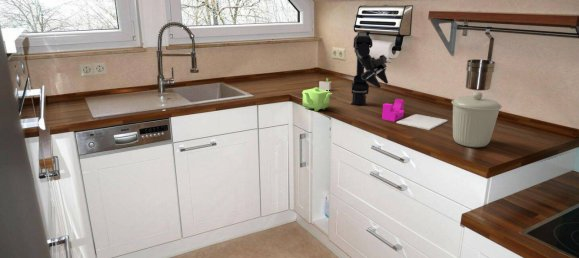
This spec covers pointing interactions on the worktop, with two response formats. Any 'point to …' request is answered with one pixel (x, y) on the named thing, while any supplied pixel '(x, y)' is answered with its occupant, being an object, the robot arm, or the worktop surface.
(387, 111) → the toy block
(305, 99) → the kettle
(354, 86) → the robot arm
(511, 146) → the worktop surface
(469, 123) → the canister
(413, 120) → the mat
